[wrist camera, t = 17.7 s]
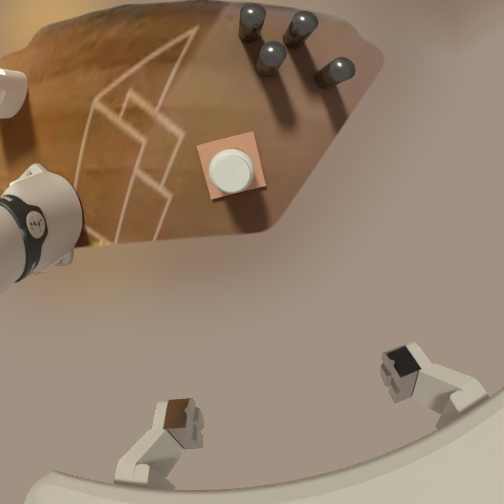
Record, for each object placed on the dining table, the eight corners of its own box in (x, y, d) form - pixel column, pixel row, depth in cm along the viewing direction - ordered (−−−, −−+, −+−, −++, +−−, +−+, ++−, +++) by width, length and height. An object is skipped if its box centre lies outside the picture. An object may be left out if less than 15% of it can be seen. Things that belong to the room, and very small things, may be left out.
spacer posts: (256, 99, 35) (261, 90, 28) (236, 28, 31) (237, 5, 23) (335, 87, 35) (357, 78, 28) (315, 19, 30) (332, -2, 23)
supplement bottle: (204, 165, 38) (195, 173, 29) (232, 139, 37) (232, 138, 28) (231, 192, 40) (230, 208, 31) (259, 166, 39) (266, 175, 30)
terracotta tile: (211, 198, 40) (211, 199, 40) (197, 145, 37) (196, 145, 37) (265, 185, 40) (266, 185, 40) (252, 131, 37) (253, 131, 37)
